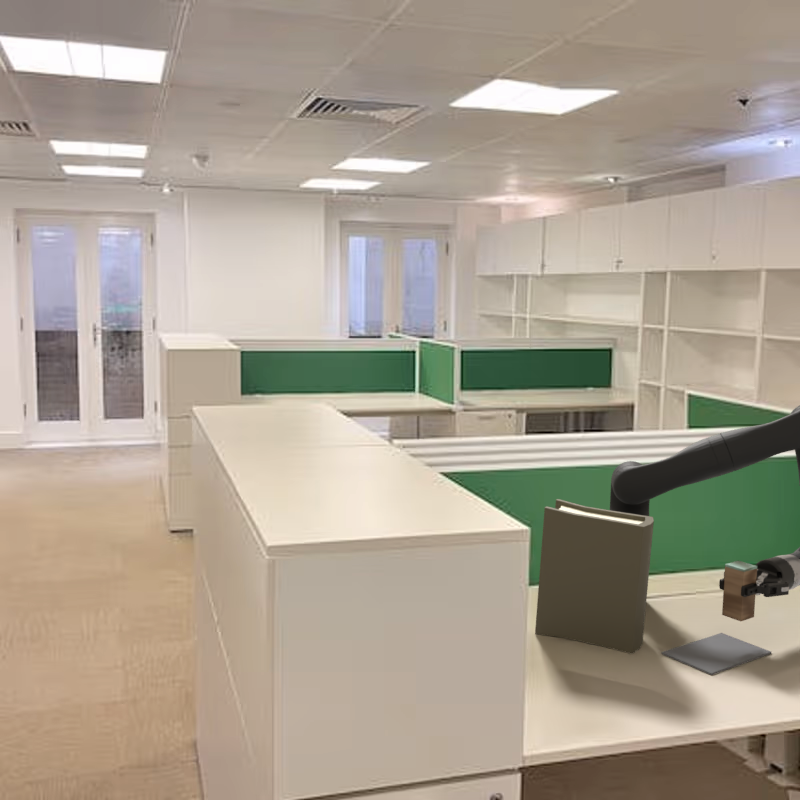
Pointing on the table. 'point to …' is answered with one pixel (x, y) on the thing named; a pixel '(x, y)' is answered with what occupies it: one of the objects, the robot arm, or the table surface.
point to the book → (594, 575)
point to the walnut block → (738, 590)
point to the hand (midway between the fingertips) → (732, 588)
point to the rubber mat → (716, 653)
